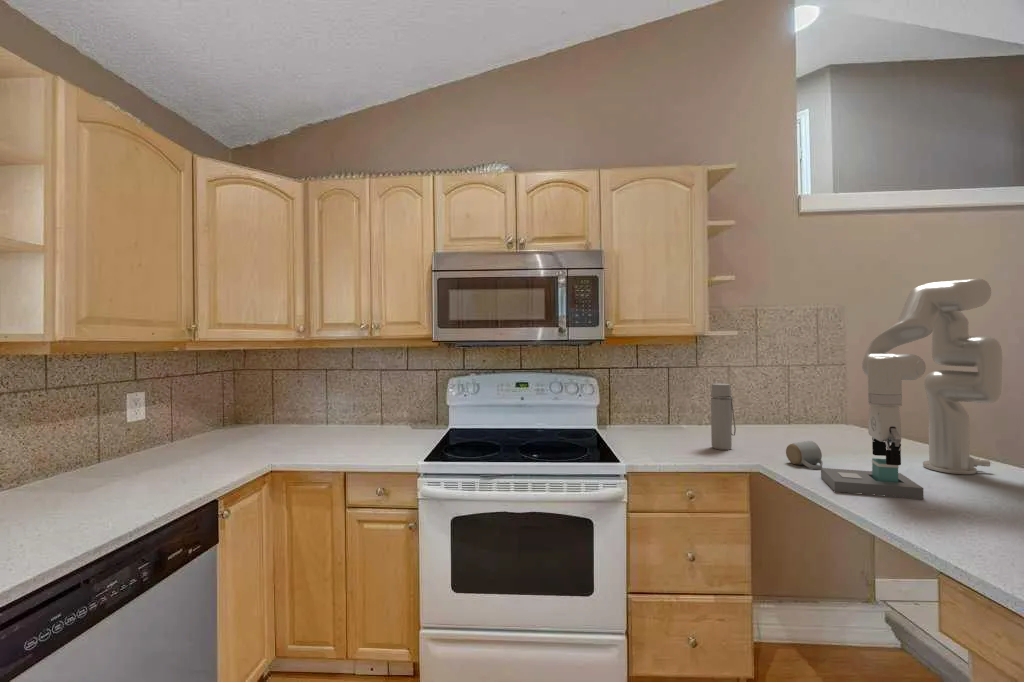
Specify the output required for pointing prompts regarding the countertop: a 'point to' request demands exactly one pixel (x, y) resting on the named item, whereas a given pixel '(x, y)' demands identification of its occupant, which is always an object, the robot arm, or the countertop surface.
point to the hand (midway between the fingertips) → (886, 459)
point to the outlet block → (870, 483)
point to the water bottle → (721, 416)
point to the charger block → (884, 471)
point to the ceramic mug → (805, 454)
